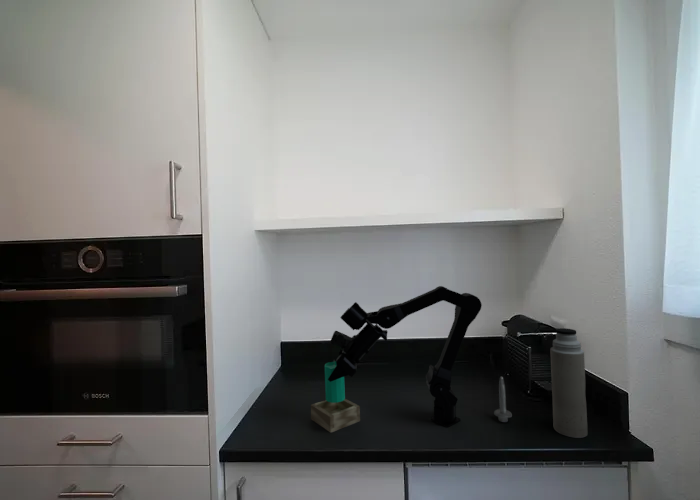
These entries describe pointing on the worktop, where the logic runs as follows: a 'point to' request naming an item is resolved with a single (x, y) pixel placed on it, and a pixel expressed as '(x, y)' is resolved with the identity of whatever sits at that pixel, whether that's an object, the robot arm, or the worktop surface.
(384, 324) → the robot arm
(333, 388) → the candle
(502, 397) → the screw
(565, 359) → the thermos bottle
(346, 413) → the candle holder
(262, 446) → the worktop surface
